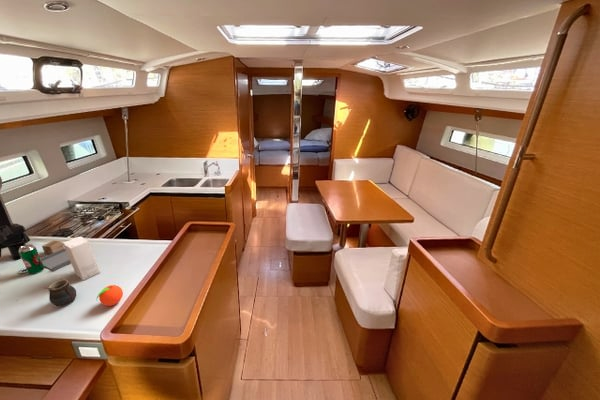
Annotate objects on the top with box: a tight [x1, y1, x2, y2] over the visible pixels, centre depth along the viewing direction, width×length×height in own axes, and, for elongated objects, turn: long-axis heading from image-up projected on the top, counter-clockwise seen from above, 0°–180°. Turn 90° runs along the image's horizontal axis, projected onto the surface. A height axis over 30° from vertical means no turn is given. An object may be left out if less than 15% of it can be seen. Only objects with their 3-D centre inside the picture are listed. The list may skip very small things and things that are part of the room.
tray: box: [40, 248, 72, 272], centre depth 121 cm, size 14×13×2 cm
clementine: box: [96, 284, 124, 307], centre depth 94 cm, size 8×7×7 cm
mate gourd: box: [44, 279, 77, 307], centre depth 94 cm, size 7×8×10 cm
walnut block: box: [41, 240, 64, 256], centre depth 125 cm, size 5×5×5 cm
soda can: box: [18, 243, 45, 275], centre depth 111 cm, size 5×5×12 cm
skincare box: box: [62, 235, 101, 281], centre depth 108 cm, size 8×7×16 cm
